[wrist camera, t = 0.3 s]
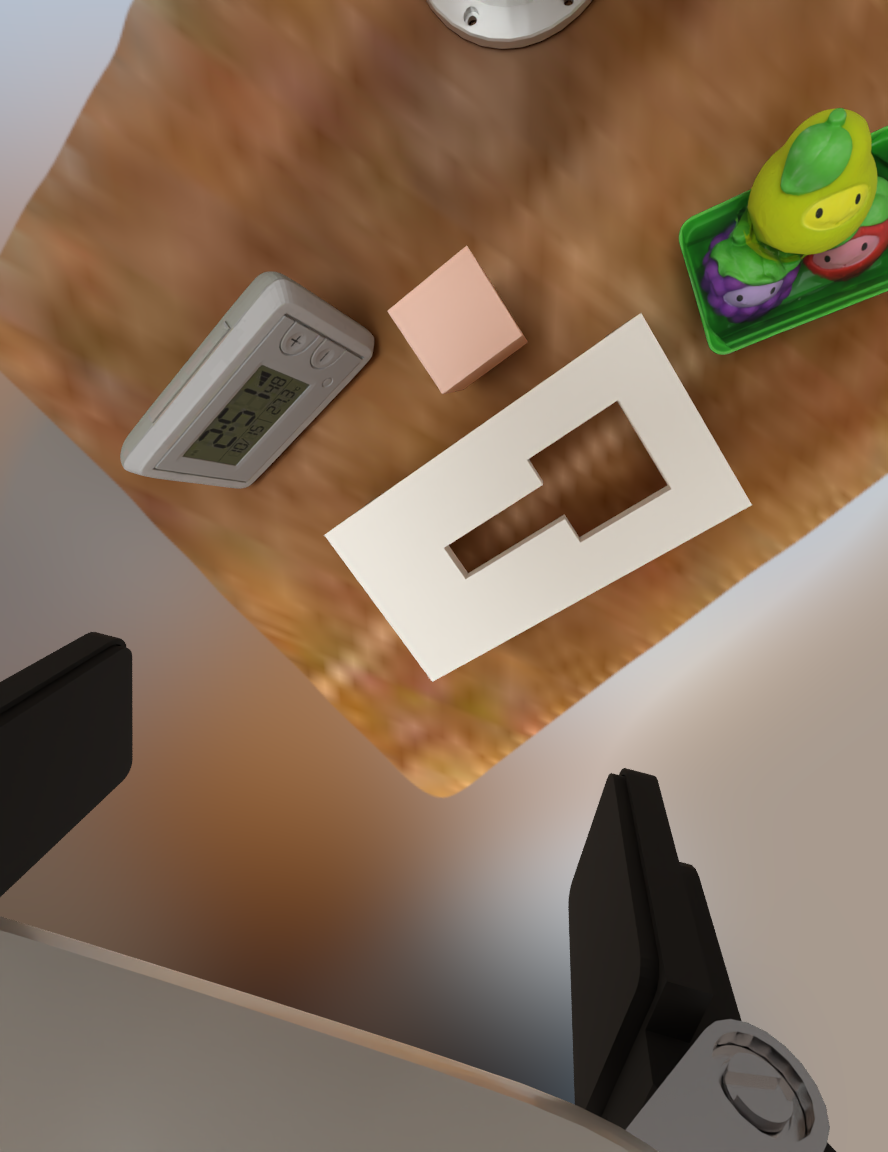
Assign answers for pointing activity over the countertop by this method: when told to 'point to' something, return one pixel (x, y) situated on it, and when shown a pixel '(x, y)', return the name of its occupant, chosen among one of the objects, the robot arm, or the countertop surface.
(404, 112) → the countertop surface
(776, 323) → the fruit basket
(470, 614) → the keyhole board
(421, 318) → the peg
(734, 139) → the countertop surface
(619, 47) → the countertop surface
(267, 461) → the digital clock
